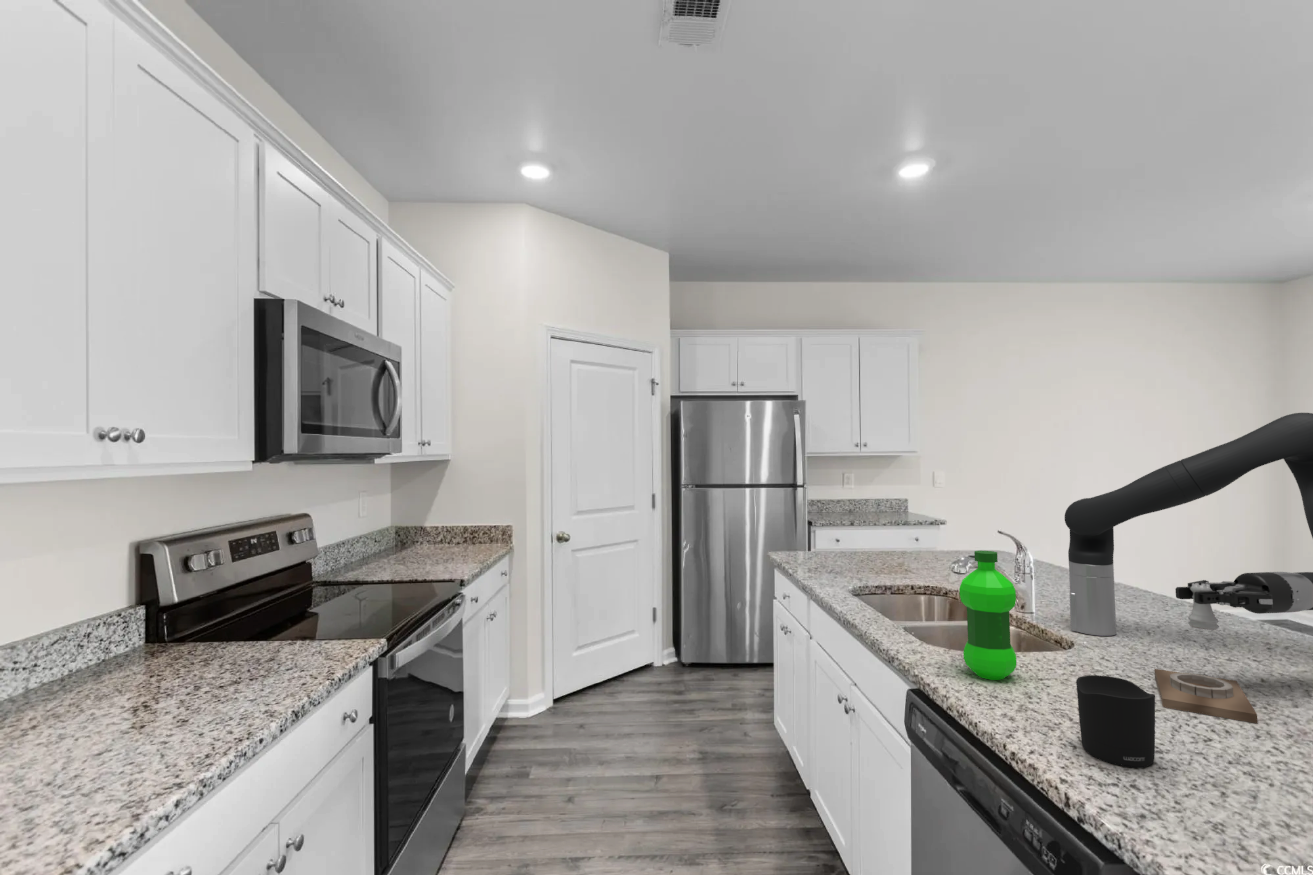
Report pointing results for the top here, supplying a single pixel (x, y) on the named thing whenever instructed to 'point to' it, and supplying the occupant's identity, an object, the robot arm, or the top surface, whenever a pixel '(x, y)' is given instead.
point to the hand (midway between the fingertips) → (1187, 595)
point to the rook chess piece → (1202, 611)
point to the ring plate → (1204, 695)
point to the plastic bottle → (988, 619)
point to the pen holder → (1116, 720)
